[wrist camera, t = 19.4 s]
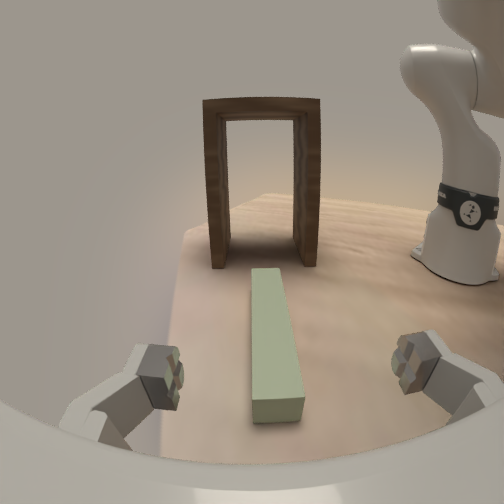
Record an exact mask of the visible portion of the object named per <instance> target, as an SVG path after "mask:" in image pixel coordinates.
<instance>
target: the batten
mask: <svg viewBox="0 0 504 504" xmlns="http://www.w3.org/2000/svg"><path fill="white" fill-rule="evenodd" d="M251 278H252V408H253V423H277V422H292V421H300V420H301V416H302V411H303V406H304V401H305V393H304V387H303V382H302V377H301V371H300V366H299V361H298V356H297V351H296V346H295V341H294V336H293V331H292V326H291V321H290V316H289V311H288V306H287V301H286V297H285V292H284V287H283V282H282V278H281V273H280V269H279V268H252V269H251Z"/></svg>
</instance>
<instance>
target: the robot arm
mask: <svg viewBox="0 0 504 504" xmlns="http://www.w3.org/2000/svg"><path fill="white" fill-rule="evenodd" d="M437 2H438V9H439V13H440V15H441V17H442V19H443V20H444V22H445V23H446V24H447V25H448V26H449V27H450V28H451V29H452V30H453V31H454V32H455V33H456V34H458V35H459V36H460V37H462V38H463V39H465V40H466V41H468V42H469V43H471V44H472V45H473V50H471V51H470V50H463V49H459V48H454V47H449V46H444V45H438V44H416V45H409V46H408V47H407V48H406V49H405V50H404V52H403V54H402V57H401V61H400V71H401V75H402V78H403V80H404V83H405V84H406V86H407V87H408V89H409V90H410V91H411V92H412V93H413V94H414V95H415V96H416V97H417V98H419V99H420V100H421V101H422V102H423V103H424V104H425V105H426V107H427V108H428V109H429V110H430V112H431V113H432V115H433V117H434V118H435V120H436V122H437V125H438V127H439V130H440V134H441V138H442V147H443V174H442V183H440V185H439V190H438V201H437V202H438V203H439V204H438V206H437V207H436V209H435V210H433V211H432V212H431V213H430V214H428V218H427V221H426V230H425V234H424V240H423V242H422V243H420V244H419V245H418V246H417V247H415V248H414V249H413V250H412V253H411V256H412V257H414V258H416V259H417V260H419V261H421V262H422V263H423V264H424V265H425V266H426V267H427V268H429V269H430V270H431V271H433V272H435V273H436V274H438V275H440V276H442V277H445V278H447V279H450V280H453V281H456V282H459V283H464V284H472V285H478V284H483V283H485V282H487V281H494V280H498V278H499V273H498V271H497V270H496V268H495V262H496V258H497V253H498V248H499V243H500V237H501V233H500V231H499V229H498V227H497V225H496V222H495V219H496V218H497V214H498V210H499V198H498V188H499V178H500V162H501V157H500V152H499V150H498V147H497V145H496V144H495V142H494V141H493V140H492V139H491V138H490V137H489V136H488V135H487V134H486V133H484V132H483V131H482V130H481V129H480V128H479V127H478V125H477V124H476V122H475V120H474V118H473V116H472V113H471V110H474V111H478V112H482V113H486V114H489V115H493V116H496V117H499V118H504V0H437ZM397 345H398V348H397V349H396V350H395V351H394V353H393V356H392V361H391V366H392V370H393V372H394V374H395V375H396V376H397V377H399V378H400V380H399V384H400V386H401V388H402V390H403V393H404V395H407V394H411V393H415V392H419V391H422V392H423V393H424V394H426V395H427V396H428V397H430V398H431V399H432V400H433V401H435V402H436V403H437V404H439V405H440V406H441V407H442V408H444V409H445V410H446V411H448V412H449V413H450V414H451V415H453V416H452V417H451V418H450V419H449V421H448V422H447V424H446V426H444V427H442V428H440V429H437V430H434V431H432V432H429V433H426V434H424V435H421V436H418V437H415V438H412V439H409V440H406V441H403V442H399V443H396V444H392V445H389V446H385V447H381V448H377V449H373V450H369V451H365V452H360V453H355V454H350V455H345V456H339V457H333V458H327V459H320V460H312V461H303V462H291V463H276V464H223V463H208V462H197V461H187V460H179V459H172V458H166V457H160V456H154V455H149V454H144V453H139V452H134V451H133V450H132V449H131V447H130V446H129V445H128V444H127V442H126V441H125V440H124V438H125V437H126V436H127V435H128V434H129V433H130V432H131V431H132V430H133V429H134V428H135V427H136V426H138V425H139V424H140V423H141V422H142V421H143V420H144V419H145V418H146V417H147V416H148V415H149V414H150V413H151V412H152V411H153V410H154V409H163V410H173V411H176V410H177V406H178V402H179V398H180V396H179V393H178V390H180V389H181V388H182V386H183V382H184V370H183V365H182V363H181V362H180V361H179V360H178V359H179V356H180V353H179V350H178V348H177V347H176V346H164V345H154V344H142V343H138V344H136V345H135V347H134V349H133V351H132V353H131V355H130V356H129V359H128V361H127V363H126V365H125V367H124V369H123V371H122V373H116V374H115V375H114V376H112V377H110V378H109V379H107V380H105V381H104V382H102V383H101V384H99V385H97V386H96V387H94V388H93V389H91V390H89V391H88V392H86V393H85V394H83V395H81V396H80V397H78V398H76V399H75V400H74V401H72V402H71V403H70V404H69V406H68V408H67V410H66V412H65V414H64V416H63V418H62V419H61V422H60V423H59V425H58V427H55V426H53V425H50V424H48V423H46V422H44V421H41V420H39V419H37V418H35V417H33V416H31V415H29V414H27V413H25V412H23V411H21V410H19V409H17V408H15V407H13V406H11V405H10V404H8V403H6V402H4V401H3V400H1V399H0V504H504V383H503V382H502V381H501V379H500V378H499V376H498V375H497V374H496V373H494V372H492V371H490V370H488V369H486V368H484V367H482V366H480V365H478V364H476V363H474V362H472V361H470V360H468V359H466V358H464V357H462V356H460V355H458V354H456V353H454V354H452V352H451V351H450V350H449V348H448V347H447V346H446V344H445V343H444V342H443V340H442V339H441V338H440V336H439V335H438V334H437V333H436V331H434V330H432V329H431V330H426V331H422V332H417V333H412V334H406V335H401V336H400V337H399V339H398V342H397Z"/></svg>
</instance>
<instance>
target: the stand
mask: <svg viewBox="0 0 504 504" xmlns="http://www.w3.org/2000/svg"><path fill="white" fill-rule="evenodd" d="M237 120H293V133H294V202H293V239H294V241H295V244H296V246H297V249H298V251H299V254H300V256H301V259H302V261H303V264H304V266H305V267H309V266H316V260H317V245H318V228H319V207H320V173H321V123H320V121H321V119H320V99H313V98H295V97H243V98H241V97H240V98H222V99H209V100H203V132H204V156H205V176H206V193H207V208H208V209H207V210H208V224H209V237H210V249H211V260H212V269H213V268H224V265H225V261H226V257H227V252H228V248H229V243H230V239H231V233H230V213H229V191H228V167H227V141H226V140H227V138H226V121H237Z"/></svg>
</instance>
